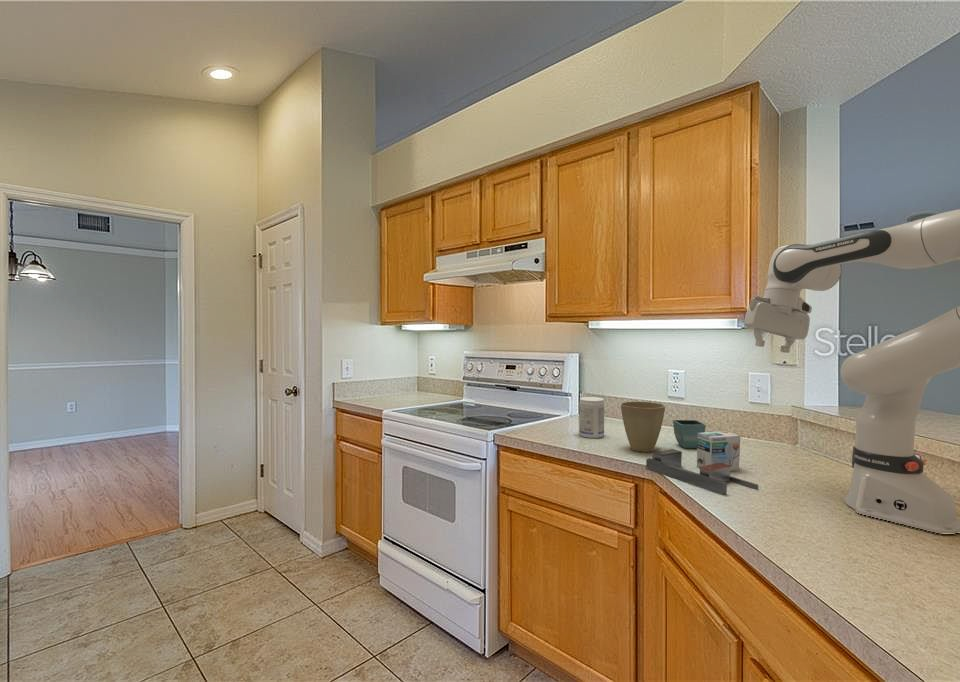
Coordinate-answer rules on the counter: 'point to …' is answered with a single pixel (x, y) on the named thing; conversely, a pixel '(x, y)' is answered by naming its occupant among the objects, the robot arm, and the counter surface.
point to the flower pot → (688, 432)
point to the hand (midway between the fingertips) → (772, 349)
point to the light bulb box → (718, 449)
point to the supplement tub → (591, 417)
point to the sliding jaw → (716, 471)
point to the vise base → (688, 472)
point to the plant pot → (642, 424)
